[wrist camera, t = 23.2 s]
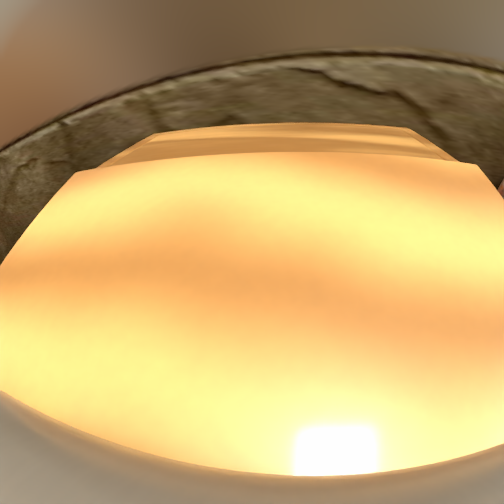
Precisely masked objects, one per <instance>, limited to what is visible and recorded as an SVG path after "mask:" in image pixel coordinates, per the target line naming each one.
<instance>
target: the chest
mask: <svg viewBox="0 0 504 504" xmlns="http://www.w3.org/2000/svg"><path fill="white" fill-rule="evenodd" d="M260 152H344V153H367V154H384V155H398V156H409V157H420V158H429V159H438V160H446V161H454V162H458V161H457V160H456V159H454V158H453V157H451V156H450V155H449V154H447V153H446V152H444V151H443V150H442V149H440V148H439V147H437V146H436V145H434V144H433V143H431V142H430V141H428V140H427V139H425V138H423V137H422V136H420V135H419V134H417V133H416V132H414V131H412V130H411V129H409V128H401V127H390V126H378V125H364V124H345V123H264V124H244V125H229V126H217V127H206V128H197V129H188V130H179V131H172V132H164V133H158V134H153V135H151V136H149V137H147V138H145V139H144V140H142V141H140V142H138V143H136V144H135V145H133V146H131V147H130V148H128V149H126V150H124V151H123V152H121V153H119V154H118V155H116V156H115V157H113V158H111V159H110V160H108V161H107V162H105V163H103V164H102V165H100V166H99V167H97V168H103V167H109V166H116V165H123V164H130V163H137V162H145V161H153V160H162V159H171V158H181V157H192V156H205V155H219V154H236V153H260ZM97 168H96V169H97Z"/></svg>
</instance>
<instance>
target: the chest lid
mask: <svg viewBox="0 0 504 504" xmlns="http://www.w3.org/2000/svg"><path fill="white" fill-rule="evenodd" d="M0 504H504V199H503V198H502V196H501V195H500V194H499V192H498V191H497V190H496V188H495V187H494V186H493V184H492V183H491V182H490V181H489V179H488V178H487V177H486V176H485V174H484V173H483V172H482V171H481V170H480V168H479V167H478V166H477V165H475V164H468V163H461V162H454V161H446V160H438V159H429V158H420V157H409V156H398V155H384V154H367V153H344V152H260V153H236V154H219V155H205V156H192V157H181V158H171V159H162V160H153V161H145V162H137V163H130V164H123V165H116V166H109V167H103V168H97V169H91V170H85V171H80V172H76V173H75V174H74V175H73V176H72V177H71V178H70V179H69V180H68V181H67V182H66V183H65V184H64V186H63V187H62V188H61V189H60V190H59V191H58V192H57V193H56V194H55V196H54V197H53V198H52V199H51V200H50V201H49V202H48V204H47V205H46V206H45V207H44V208H43V210H42V211H41V212H40V213H39V214H38V216H37V217H36V218H35V219H34V221H33V222H32V223H31V224H30V226H29V227H28V228H27V229H26V231H25V232H24V233H23V235H22V236H21V237H20V239H19V240H18V241H17V243H16V244H15V245H14V247H13V248H12V250H11V251H10V252H9V254H8V255H7V257H6V258H5V260H4V261H3V263H2V264H1V266H0Z"/></svg>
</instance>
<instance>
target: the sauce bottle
mask: <svg viewBox="0 0 504 504" xmlns="http://www.w3.org/2000/svg"><path fill="white" fill-rule="evenodd" d="M497 191H498V192H499V194H500V195H501V196H502V198H503V199H504V179H503V181H502V182H501V184H500V186H499V188H498V190H497Z"/></svg>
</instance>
